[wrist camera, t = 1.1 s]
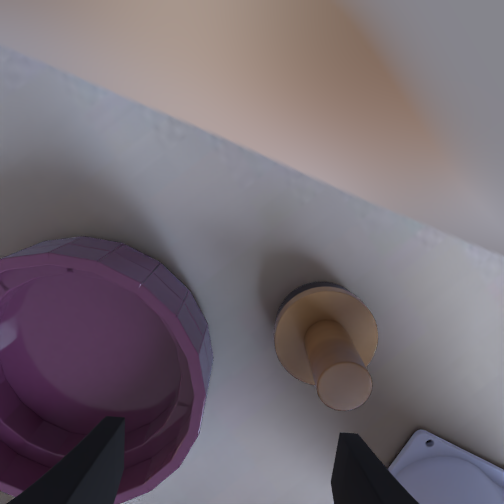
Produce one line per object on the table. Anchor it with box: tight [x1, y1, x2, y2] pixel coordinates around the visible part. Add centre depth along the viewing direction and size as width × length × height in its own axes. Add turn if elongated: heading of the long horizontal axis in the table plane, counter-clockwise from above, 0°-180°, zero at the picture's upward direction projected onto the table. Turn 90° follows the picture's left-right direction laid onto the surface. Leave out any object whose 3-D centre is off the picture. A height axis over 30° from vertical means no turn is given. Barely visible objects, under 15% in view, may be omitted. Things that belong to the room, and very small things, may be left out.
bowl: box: [0, 236, 213, 504], centre depth 22 cm, size 14×14×4 cm
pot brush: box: [274, 282, 378, 411], centre depth 20 cm, size 6×6×7 cm
